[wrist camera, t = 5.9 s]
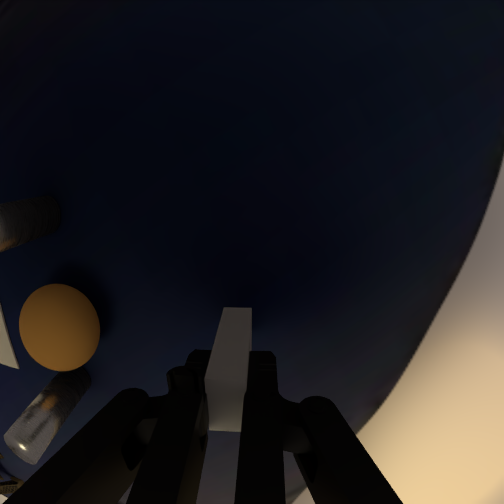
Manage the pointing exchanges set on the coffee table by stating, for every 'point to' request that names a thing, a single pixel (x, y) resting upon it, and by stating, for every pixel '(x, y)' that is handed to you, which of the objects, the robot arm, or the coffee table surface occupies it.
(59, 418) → the post
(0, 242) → the post
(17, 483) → the eiffel tower
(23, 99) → the coffee table surface
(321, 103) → the coffee table surface
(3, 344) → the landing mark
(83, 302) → the ball
